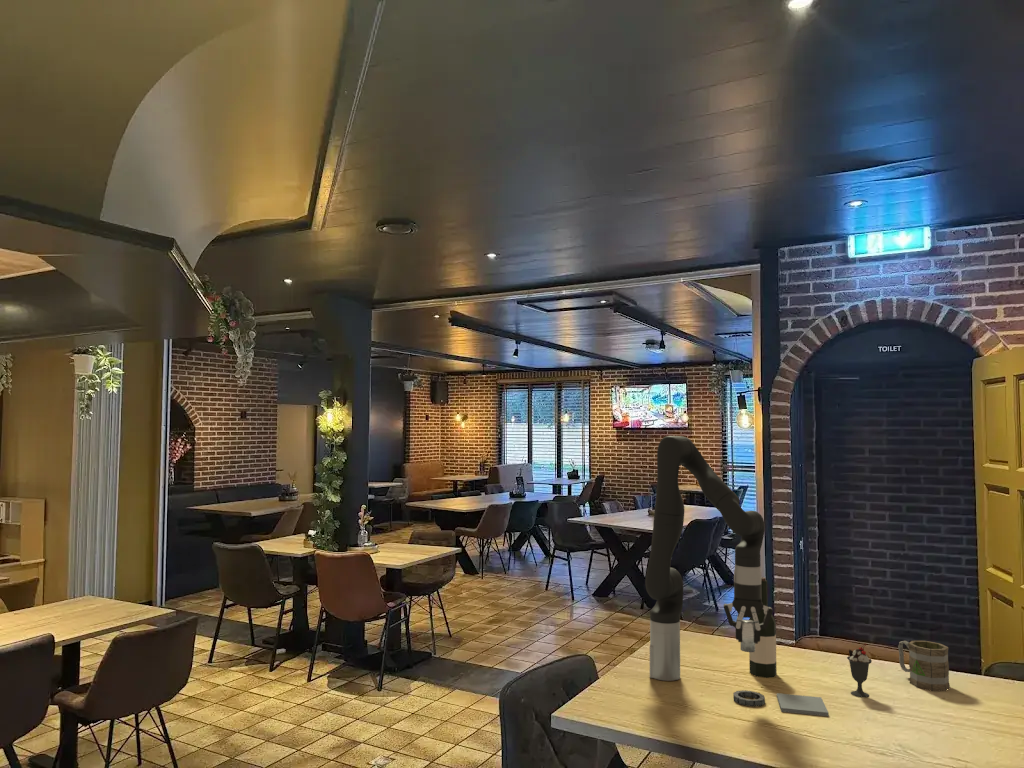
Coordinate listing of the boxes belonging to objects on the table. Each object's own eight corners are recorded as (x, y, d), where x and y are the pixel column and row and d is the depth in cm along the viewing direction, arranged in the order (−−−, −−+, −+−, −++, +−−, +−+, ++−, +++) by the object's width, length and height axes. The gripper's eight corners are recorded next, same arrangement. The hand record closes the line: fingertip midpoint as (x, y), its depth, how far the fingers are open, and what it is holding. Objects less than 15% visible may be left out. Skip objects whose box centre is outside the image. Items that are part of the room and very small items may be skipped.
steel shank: (740, 651, 204) (740, 622, 204) (740, 647, 208) (740, 619, 208) (755, 652, 203) (755, 623, 203) (754, 648, 207) (754, 620, 207)
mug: (958, 689, 216) (957, 648, 217) (933, 693, 212) (931, 651, 213) (912, 673, 231) (911, 635, 232) (887, 677, 227) (886, 638, 228)
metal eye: (734, 704, 201) (734, 699, 201) (732, 694, 209) (732, 689, 209) (765, 707, 199) (765, 702, 199) (763, 697, 207) (763, 692, 207)
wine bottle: (773, 670, 232) (771, 575, 235) (780, 678, 224) (778, 580, 226) (746, 668, 233) (745, 574, 235) (752, 677, 225) (751, 579, 227)
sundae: (875, 699, 206) (874, 646, 208) (850, 697, 208) (849, 644, 209) (869, 691, 213) (867, 639, 214) (845, 689, 214) (843, 638, 215)
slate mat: (781, 711, 196) (781, 707, 196) (776, 696, 208) (776, 693, 208) (828, 716, 193) (828, 712, 193) (821, 701, 205) (821, 697, 205)
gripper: (722, 582, 205) (722, 643, 203) (775, 585, 201) (775, 648, 200) (721, 577, 212) (721, 636, 211) (772, 580, 208) (772, 640, 207)
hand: (747, 641), depth 205 cm, fingers closed on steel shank, 4 cm apart
